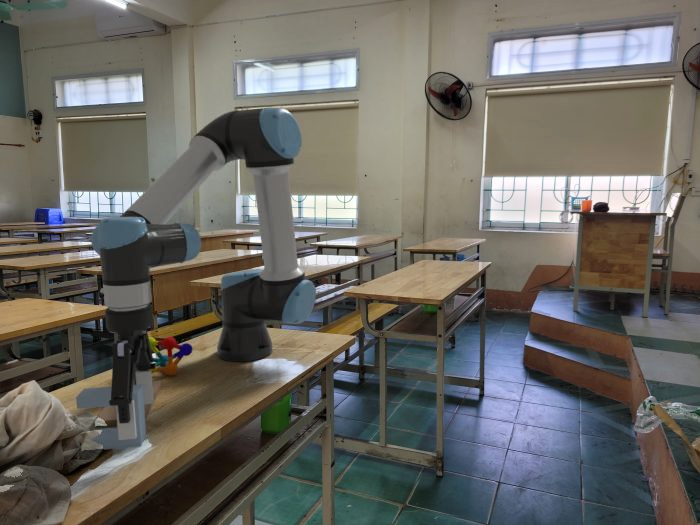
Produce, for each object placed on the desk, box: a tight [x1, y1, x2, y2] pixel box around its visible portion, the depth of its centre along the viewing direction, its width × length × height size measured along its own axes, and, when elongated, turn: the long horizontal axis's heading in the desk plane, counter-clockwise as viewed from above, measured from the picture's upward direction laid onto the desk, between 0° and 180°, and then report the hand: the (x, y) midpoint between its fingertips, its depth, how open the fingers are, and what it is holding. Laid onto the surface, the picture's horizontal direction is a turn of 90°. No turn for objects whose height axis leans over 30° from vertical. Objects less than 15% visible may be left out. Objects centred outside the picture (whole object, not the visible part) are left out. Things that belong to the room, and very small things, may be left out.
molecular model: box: [148, 336, 194, 377], centre depth 123 cm, size 11×10×15 cm
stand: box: [97, 366, 163, 427], centre depth 104 cm, size 9×19×13 cm, turn 10°
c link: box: [75, 384, 147, 450], centre depth 88 cm, size 10×4×10 cm, turn 101°
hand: (137, 419), depth 89 cm, fingers open, 13 cm apart
